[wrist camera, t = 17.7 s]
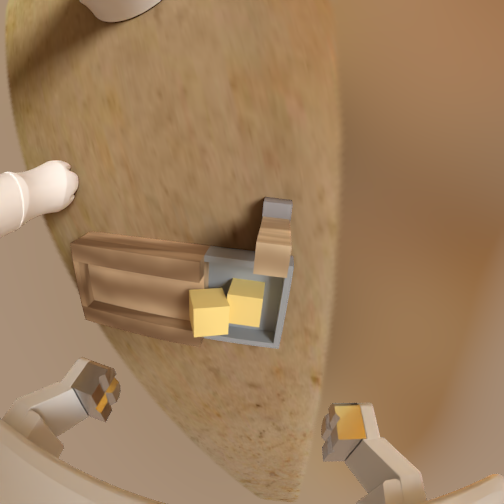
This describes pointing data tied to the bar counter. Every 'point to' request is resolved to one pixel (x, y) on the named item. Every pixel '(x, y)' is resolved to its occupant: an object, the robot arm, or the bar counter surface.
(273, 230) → the wooden post on base
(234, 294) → the pale yellow cube
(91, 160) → the bar counter surface
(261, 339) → the tray
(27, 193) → the water bottle
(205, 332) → the pale yellow block
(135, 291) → the brown wooden tray
